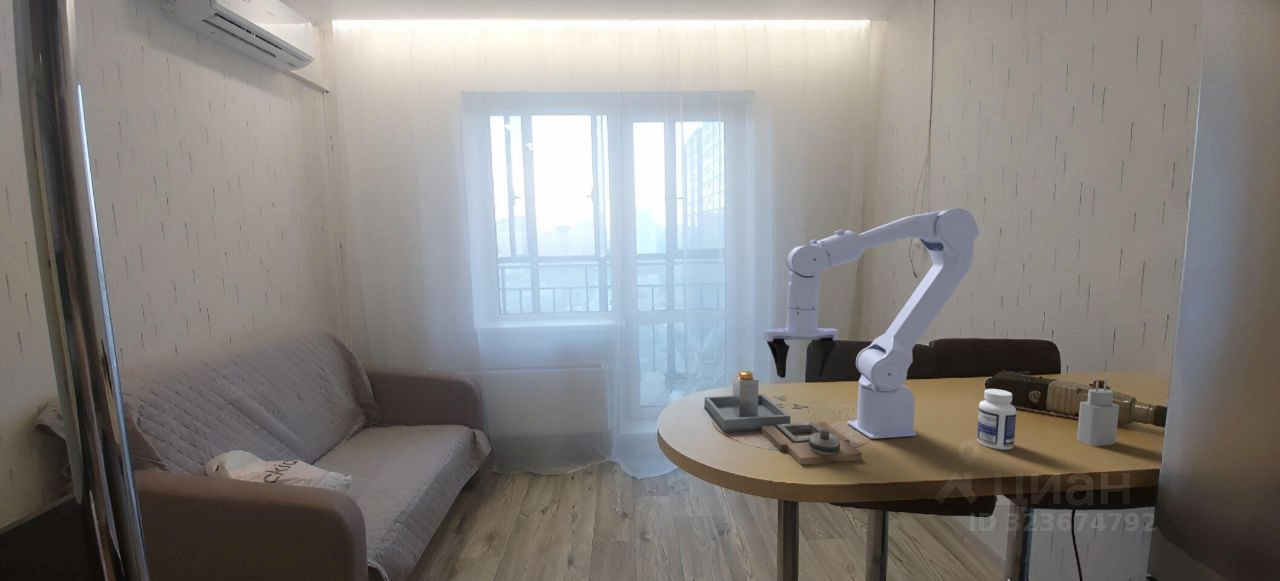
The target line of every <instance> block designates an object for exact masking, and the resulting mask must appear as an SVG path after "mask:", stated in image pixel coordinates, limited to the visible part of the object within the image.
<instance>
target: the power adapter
mask: <svg viewBox="0 0 1280 581" xmlns="http://www.w3.org/2000/svg"><path fill="white" fill-rule="evenodd" d="M1099 382H1100V379H1099V378H1098V377H1097V378H1096V384H1095V388H1089V389H1088V391H1087V392H1088V394H1087V401H1086V400H1085V401H1080V402H1079V411H1078V412H1079V413H1078V414H1079V415H1078V425H1077V435H1076V441H1078V442H1080V443H1083V444H1086V445H1088V446H1091V447H1101V446H1102V447H1103V446H1113V445H1116V440H1117V429H1118V420H1119V408H1120V405H1119V404H1116V403H1113V396H1114V391H1113V390H1111V389H1107V385H1108V383H1107V382H1108V378H1107V377H1105V378H1104V383H1103V388H1099V384H1100V383H1099ZM1112 444H1113V445H1112Z"/></svg>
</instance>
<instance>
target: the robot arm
mask: <svg viewBox="0 0 1280 581" xmlns="http://www.w3.org/2000/svg"><path fill="white" fill-rule="evenodd" d="M979 234H980V230H979V227H978V225H977V222H976V220H975V217H974V215H973V214H972V213H971V212H969V210H967V209H964V208H960V207H959V208H957V207H955V208H950V209H945V210H938V211H936V210H931V211H927V212H925V213H919V214H914V215H908V216H904V217H902V218H899V219H896V220H893V221H891V222H888V223H886V224H882V225H880V226H878V227H877V226H876V227H874V228H871V229H869V230H867V231H864V232H860V233H856V232H855V231H853V230H852V231H851V230H845V231H844V229H838V230H835V231H834V234H833V235H831V236H828V237H826V238H822V239H819V240H817V239H812V240H809V242H810V244H806V245H800V246H799V245H798V246H796V247H794V248H793V249H792V250H791V251H789V254H788V255H787V259H786V260H785V263H786V266H787V268H788V270H789V273H788V274H789V275H788V280H789V282H788V284H787V285H788V286H787V301H786V302H787V303H786V304H787V305H786V306H787V307H786V308H787V309H786V326H785V327H782V328H774V329H773V328H772V329H764V332H763V333H764V335H763V340H765V341H766V343H767V346H768V347H769V350H770V352H771V355H772V358H773V360H774V364H775V368H776V375H777V376H778V378H779V377H780V378H781V379H785V378H786V374H787V358H788V354H789V349H790V346H789V344H786V341H804V340H805V341H806V340H808V341H809V340H811V343H812V344H811V346H812V351H813V352H812V353H813V358H812V359H813V360H812V363H813V364H812V374H813V375H814V376H816V377H817V378H818V377H819V378H820V377H822V376H823V373H824V370H825V367H826V364H827V362H828V360H829V358H830V356H831V354H832V353H833V351H834V350H835V349H836V346H837V342H836V341H839V332H840V331H839V329H836V328H831V327H830V328H825V327H824V328H823V327H822V328H821V327H818V324H819V322H818V321H819V320H818V319H819V299H820V274H821V272H822V271H823V270H829V269H832V268H835V267H838V266H841V265H844V264H847V263H850V262H854V261H856V260H859V259H860V258H861V257H862V255H863V253H864V252H865V250H867V249H872V248H875V247H879V246H882V245H885V244H890V243H892V242H895V241H899V240H902V239H906V238H907V239H912V240H913V239H917V240H919V242H920V243H921V244H922V245H923V246H924V247H925V249H926V250H927V252H928V253H929V256H930V259H931V262H932V266H931V267H930V269H929V270H928V272H927V273H926V274H925V276H924V277H923V279H922V280H921V282H920V283H919V284H918V285H917V287H916V289H915V290H914V291H913V293H912V294H911V295H910V297H909V299H907V301H906V303H905V304H904V306H903V307H902V309H901V310H900V311H899V313H898V314H897V316H896V317H895V318H894V320H893V321H892V323H891V324H890V326H889V327H888V329H887V330H886V331H885V333H883V334H881V335H880V336H878V337H876V338H875V339H873V341H872V342H871V343H870V345H868V346H867V347H865V348H863V349H862V350H860V351H859V353H857V355H856V358H855V366H856V368H857V370H858V372H859V373H860V378H859V380H858V389H857V390H858V393H857V415H856V416H857V417H856V420H854V419H853V420H847V422H846V423H847V424H848V425H850V427H852V428H854V429H855V430H857V431H858V432H860V433H861V434H862V435H864V436H866V437H868V438H869V439H870V440H873V439H874V440H875V439H890V438H903V437H916V436H917V433H916V432H915V431H914V426H915V407H916V406H915V405H916V404H915V403H916V400H915V396H914V394H913V391H912V390H911V389H910V388H909V387H908V386H906V385H904V384H905V382H906V380H907V376H908V370H909V368H910V366H911V364H912V363H913V361H914V360H913V358H914V357H913V349H914V347H915V346H916V345H917V343H918V342H919V340H920V339H921V337H922V336H923V334H924V333H925V332H926V330H927V329H928V328H929V326H930V325H931V324H932V323H933V321H934V320H935V319H936V316H937V315H938V313H939V312H940V311H941V310H942V308H943V307H944V306H945V304H946V303H947V301H948V300H949V298H950V297H951V296H952V295H953V293H954V291H955V290H956V289H957V288H958V287H959V285H960V284H961V282H962V280H963V279H964V278H965V276H966V275H967V273H968V272H969V271H970V268H971V266H972V258H973V251H974V244H975V243H974V242H975V241H976V239H977V237H979Z"/></svg>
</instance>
